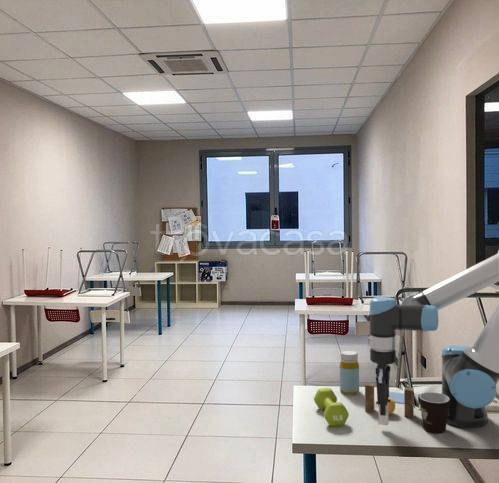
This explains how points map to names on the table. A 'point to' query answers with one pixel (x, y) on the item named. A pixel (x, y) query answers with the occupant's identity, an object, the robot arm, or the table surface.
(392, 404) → the ball
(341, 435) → the table surface
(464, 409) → the robot arm
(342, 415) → the dumbbell
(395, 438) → the table surface
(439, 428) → the coffee mug
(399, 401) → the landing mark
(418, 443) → the table surface
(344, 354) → the bottle
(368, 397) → the post far
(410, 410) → the post near
